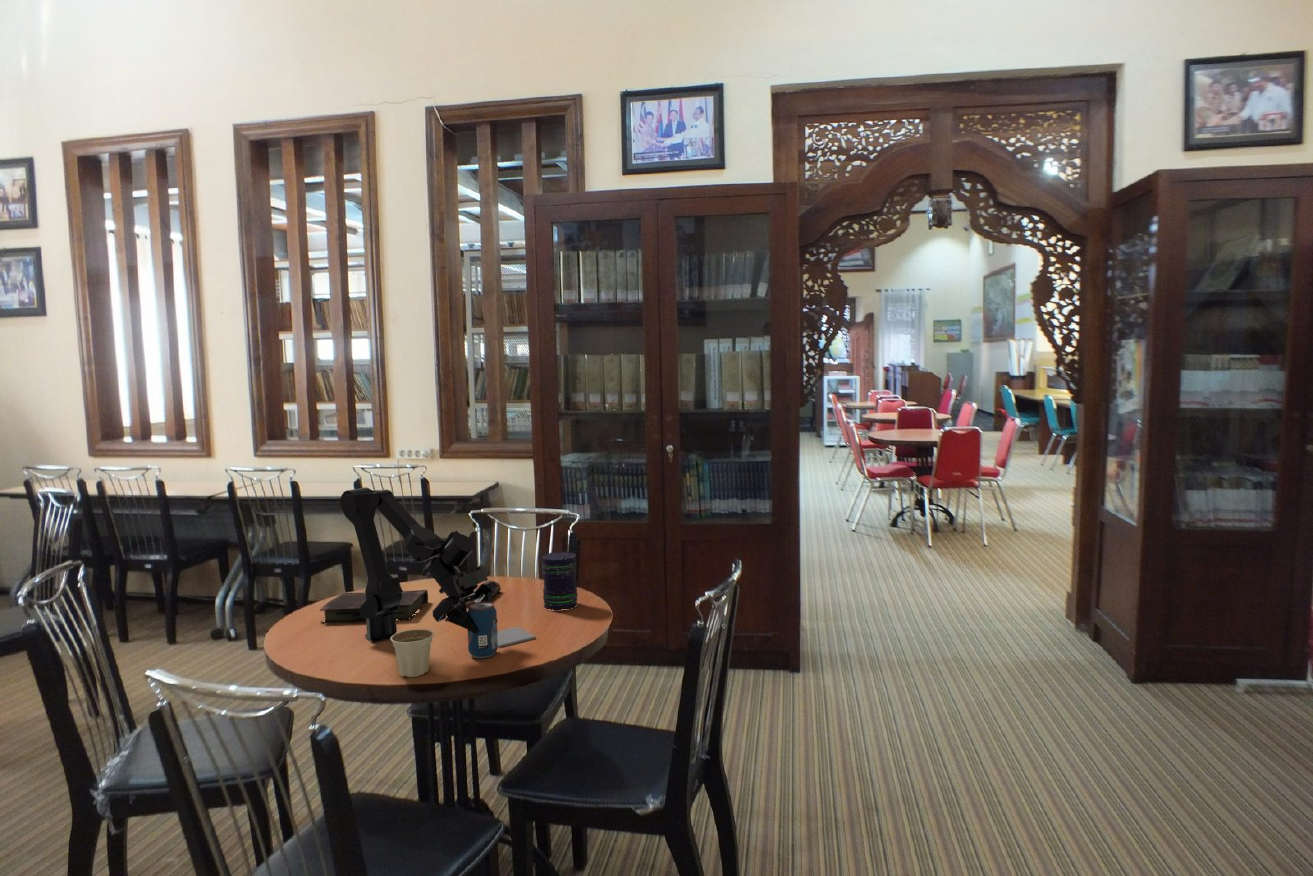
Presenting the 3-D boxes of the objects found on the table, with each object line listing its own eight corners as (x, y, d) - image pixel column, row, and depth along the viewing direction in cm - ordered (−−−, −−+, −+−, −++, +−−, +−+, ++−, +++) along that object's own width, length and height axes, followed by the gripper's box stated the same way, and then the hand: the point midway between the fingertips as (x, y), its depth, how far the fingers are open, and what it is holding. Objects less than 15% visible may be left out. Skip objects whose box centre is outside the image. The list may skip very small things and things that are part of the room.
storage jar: (537, 606, 222) (535, 555, 221) (565, 599, 229) (563, 550, 228) (555, 613, 215) (553, 561, 214) (584, 606, 221) (582, 555, 220)
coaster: (499, 647, 188) (499, 645, 188) (482, 637, 196) (482, 635, 196) (535, 638, 194) (535, 636, 194) (517, 628, 202) (517, 626, 202)
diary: (344, 607, 229) (343, 591, 229) (428, 604, 230) (427, 588, 230) (319, 626, 211) (318, 608, 210) (410, 623, 211) (409, 605, 211)
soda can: (468, 650, 186) (466, 602, 186) (497, 647, 188) (495, 599, 187) (468, 660, 180) (466, 610, 179) (498, 657, 181) (496, 608, 180)
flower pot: (420, 662, 180) (418, 626, 180) (444, 670, 174) (442, 633, 174) (384, 674, 173) (382, 637, 172) (407, 684, 167) (405, 645, 166)
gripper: (440, 565, 175) (480, 618, 172) (491, 548, 192) (528, 596, 188) (415, 595, 179) (454, 648, 176) (467, 576, 196) (503, 623, 192)
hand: (487, 627), depth 183 cm, fingers closed on soda can, 7 cm apart
